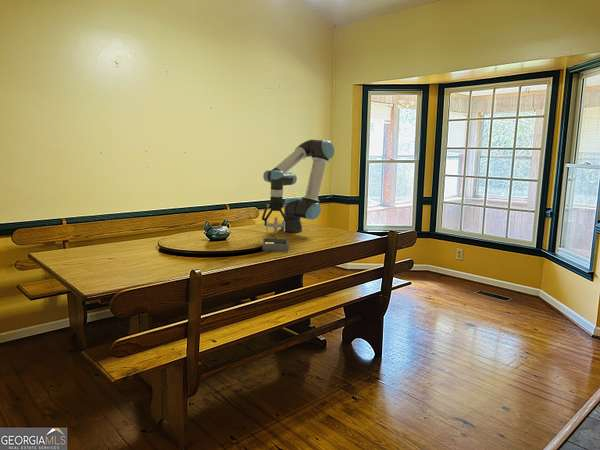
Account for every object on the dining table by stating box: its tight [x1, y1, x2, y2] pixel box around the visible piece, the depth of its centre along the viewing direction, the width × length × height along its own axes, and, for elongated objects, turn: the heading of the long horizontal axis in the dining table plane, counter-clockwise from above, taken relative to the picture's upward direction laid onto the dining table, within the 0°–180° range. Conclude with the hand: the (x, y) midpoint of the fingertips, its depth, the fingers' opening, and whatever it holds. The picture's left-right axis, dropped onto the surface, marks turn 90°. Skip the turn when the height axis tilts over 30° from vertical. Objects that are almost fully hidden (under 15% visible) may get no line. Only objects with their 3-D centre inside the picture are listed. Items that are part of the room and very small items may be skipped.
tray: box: [262, 237, 290, 253], centre depth 263 cm, size 15×15×4 cm
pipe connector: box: [268, 216, 284, 234], centre depth 277 cm, size 10×10×10 cm
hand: (275, 231), depth 278 cm, fingers closed on pipe connector, 10 cm apart
